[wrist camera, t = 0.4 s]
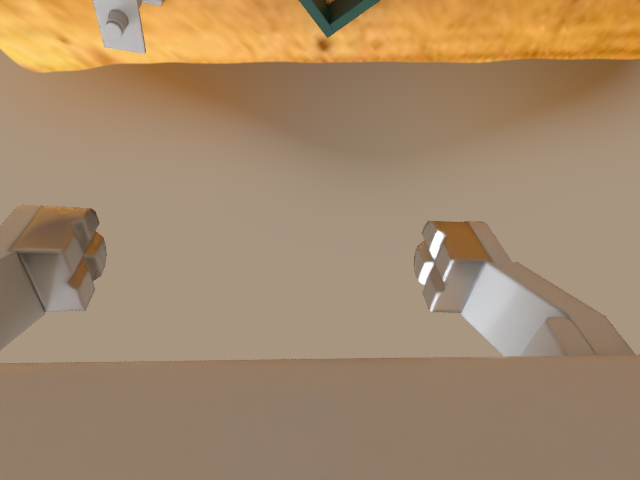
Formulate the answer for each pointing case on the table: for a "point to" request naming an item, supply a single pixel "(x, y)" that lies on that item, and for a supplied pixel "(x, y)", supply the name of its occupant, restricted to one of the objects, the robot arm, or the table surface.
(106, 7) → the test tube rack
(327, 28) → the rack
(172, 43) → the table surface
